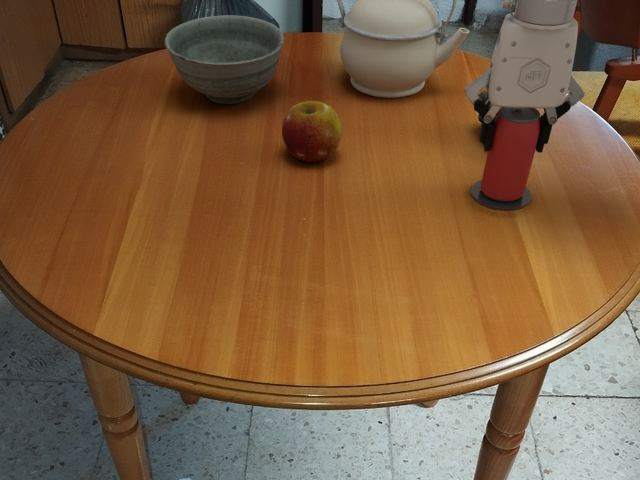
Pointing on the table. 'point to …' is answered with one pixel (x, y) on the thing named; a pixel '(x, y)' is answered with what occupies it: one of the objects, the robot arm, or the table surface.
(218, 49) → the bowl
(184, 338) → the table surface
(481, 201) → the coaster
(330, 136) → the fruit
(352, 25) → the kettle
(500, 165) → the beer can
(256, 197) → the table surface
